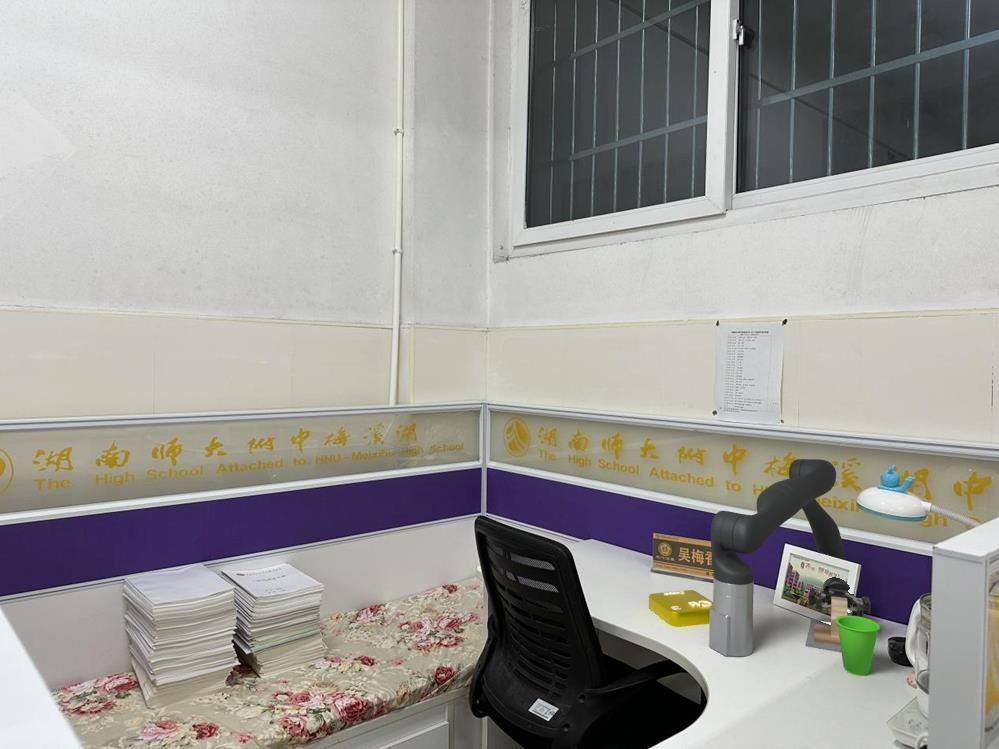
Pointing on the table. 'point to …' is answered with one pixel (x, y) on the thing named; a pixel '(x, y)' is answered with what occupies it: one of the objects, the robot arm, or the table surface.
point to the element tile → (681, 607)
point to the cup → (857, 643)
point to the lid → (830, 633)
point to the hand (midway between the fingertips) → (839, 610)
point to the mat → (822, 646)
